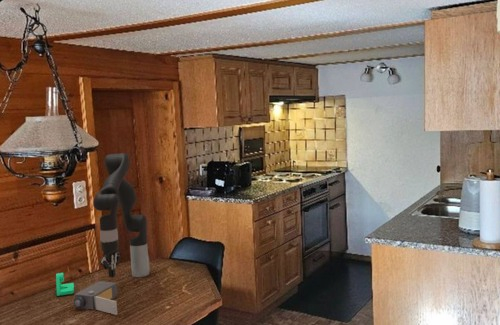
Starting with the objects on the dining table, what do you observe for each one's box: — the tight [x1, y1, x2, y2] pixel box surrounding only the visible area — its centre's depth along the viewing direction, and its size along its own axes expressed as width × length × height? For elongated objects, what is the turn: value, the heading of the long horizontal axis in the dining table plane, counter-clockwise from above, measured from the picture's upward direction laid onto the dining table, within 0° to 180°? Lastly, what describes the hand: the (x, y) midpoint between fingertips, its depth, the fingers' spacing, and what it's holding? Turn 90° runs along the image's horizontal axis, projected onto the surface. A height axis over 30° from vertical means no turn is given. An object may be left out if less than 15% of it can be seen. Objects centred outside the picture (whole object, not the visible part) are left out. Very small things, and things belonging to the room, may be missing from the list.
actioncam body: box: [73, 280, 119, 311], centre depth 233 cm, size 21×10×7 cm, turn 159°
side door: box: [94, 296, 118, 316], centre depth 220 cm, size 14×2×6 cm, turn 57°
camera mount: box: [55, 272, 75, 297], centre depth 248 cm, size 12×8×10 cm, turn 18°
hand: (112, 277), depth 219 cm, fingers closed
